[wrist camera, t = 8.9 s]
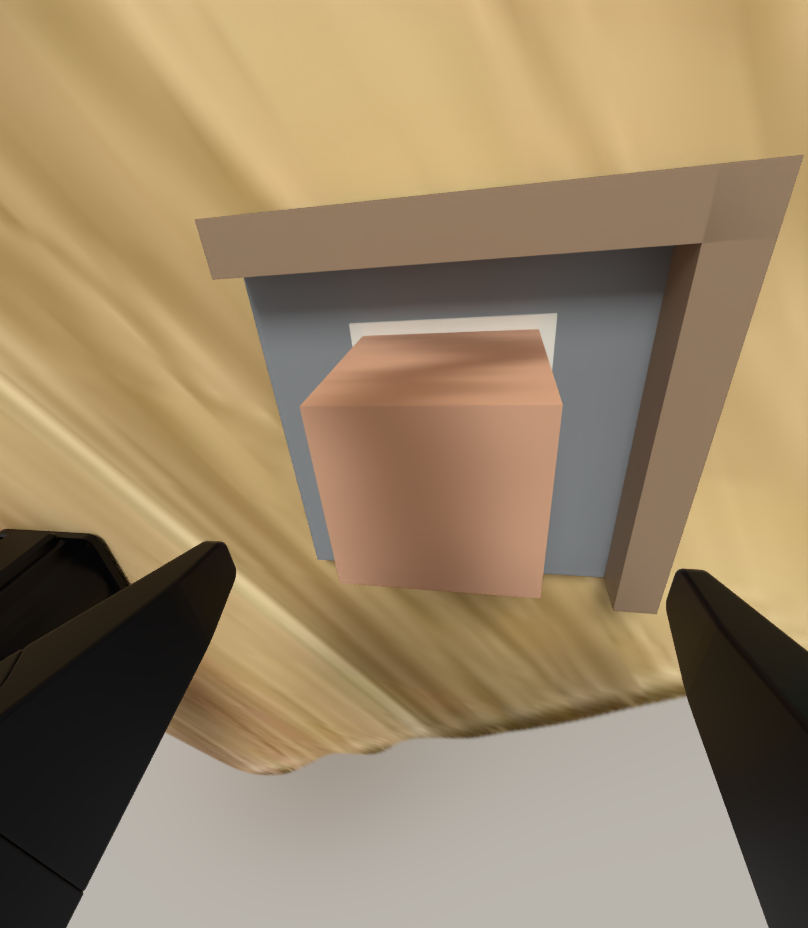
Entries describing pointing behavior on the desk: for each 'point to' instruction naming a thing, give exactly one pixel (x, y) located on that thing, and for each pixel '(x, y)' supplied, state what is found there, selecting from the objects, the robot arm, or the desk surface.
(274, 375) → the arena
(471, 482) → the cube
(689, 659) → the robot arm
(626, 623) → the desk surface
